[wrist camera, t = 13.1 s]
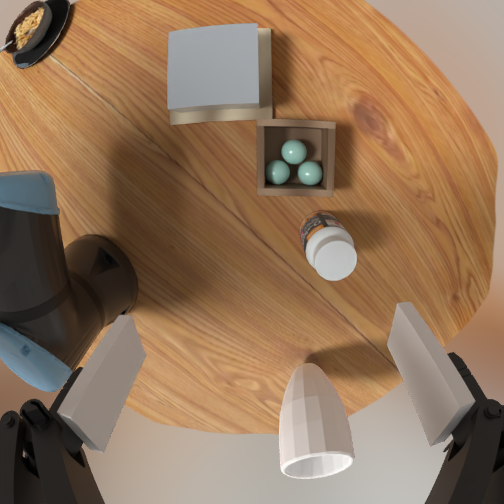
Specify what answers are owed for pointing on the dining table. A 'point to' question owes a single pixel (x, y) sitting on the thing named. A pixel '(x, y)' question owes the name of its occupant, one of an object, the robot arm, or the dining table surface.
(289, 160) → the marble
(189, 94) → the grey cover
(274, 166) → the marble
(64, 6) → the soup bowl
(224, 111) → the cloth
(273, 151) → the walnut dish
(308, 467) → the cup
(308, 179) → the marble
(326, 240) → the pill bottle
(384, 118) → the dining table surface
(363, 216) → the dining table surface
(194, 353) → the dining table surface
